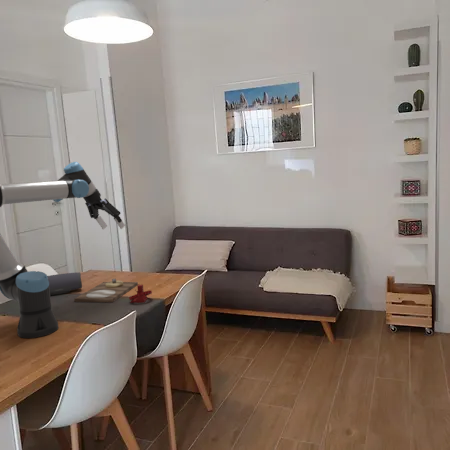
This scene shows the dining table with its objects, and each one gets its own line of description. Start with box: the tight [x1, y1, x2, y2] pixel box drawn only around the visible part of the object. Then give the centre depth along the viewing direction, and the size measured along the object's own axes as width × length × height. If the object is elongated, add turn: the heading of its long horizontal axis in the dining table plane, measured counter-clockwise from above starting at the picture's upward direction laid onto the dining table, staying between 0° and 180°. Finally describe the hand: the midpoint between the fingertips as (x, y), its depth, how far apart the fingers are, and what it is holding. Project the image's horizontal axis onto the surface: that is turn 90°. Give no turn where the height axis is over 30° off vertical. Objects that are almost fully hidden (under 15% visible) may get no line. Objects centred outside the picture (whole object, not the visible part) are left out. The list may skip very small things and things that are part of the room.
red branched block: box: [128, 283, 153, 304], centre depth 212 cm, size 11×12×8 cm
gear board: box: [73, 278, 139, 303], centre depth 229 cm, size 30×20×5 cm, turn 168°
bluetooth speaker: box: [47, 271, 83, 296], centre depth 233 cm, size 23×9×10 cm, turn 111°
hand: (113, 227), depth 218 cm, fingers open, 13 cm apart
